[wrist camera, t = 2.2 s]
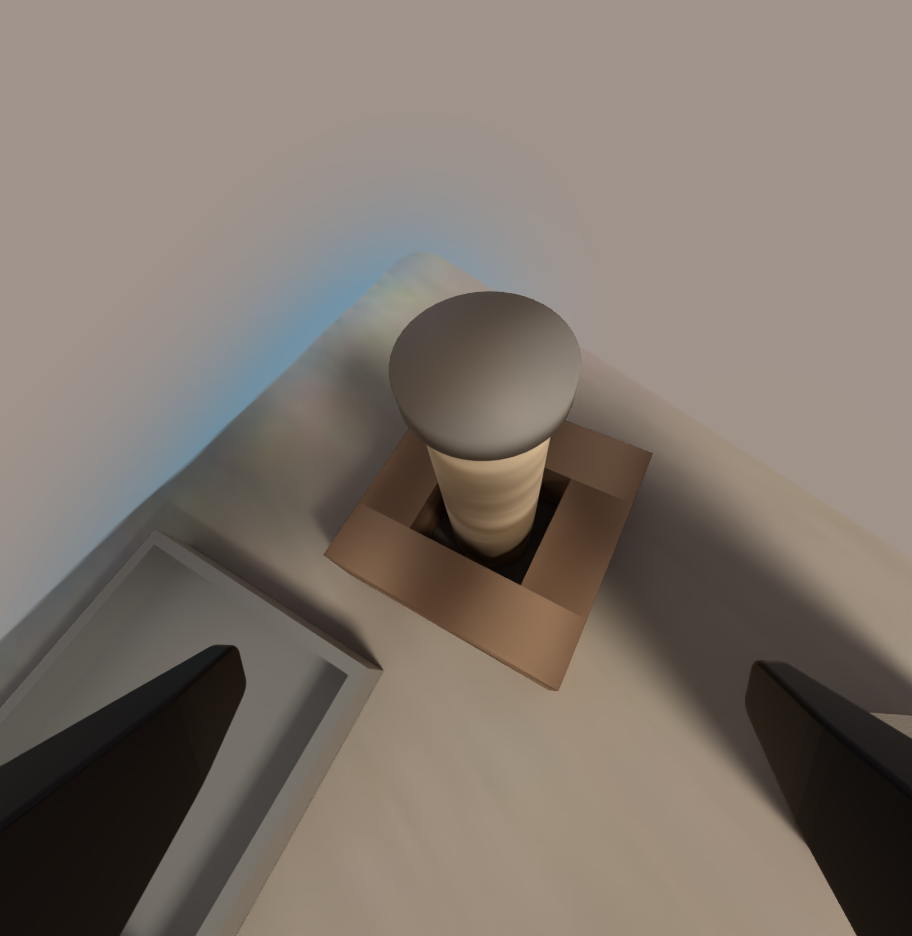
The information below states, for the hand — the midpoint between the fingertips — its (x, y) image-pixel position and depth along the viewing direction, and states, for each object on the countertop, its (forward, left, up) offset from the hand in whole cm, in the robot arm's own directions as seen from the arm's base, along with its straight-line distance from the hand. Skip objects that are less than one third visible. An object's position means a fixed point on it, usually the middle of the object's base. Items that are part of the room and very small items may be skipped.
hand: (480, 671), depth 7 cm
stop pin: (+3, -6, -13) cm, 15 cm away
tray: (+11, +9, -13) cm, 19 cm away
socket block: (+3, -6, -13) cm, 15 cm away
